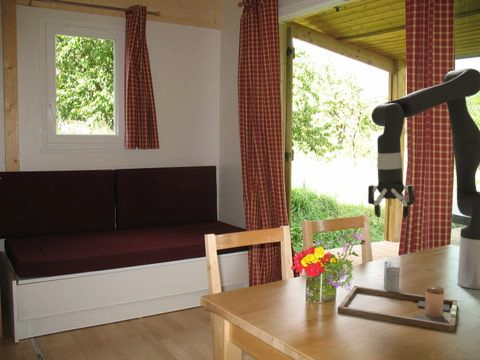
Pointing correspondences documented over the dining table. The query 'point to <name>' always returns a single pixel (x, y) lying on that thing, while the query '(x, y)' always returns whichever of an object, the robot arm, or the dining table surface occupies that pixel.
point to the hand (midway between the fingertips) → (391, 217)
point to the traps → (422, 305)
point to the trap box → (396, 318)
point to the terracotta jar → (434, 301)
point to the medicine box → (391, 276)
